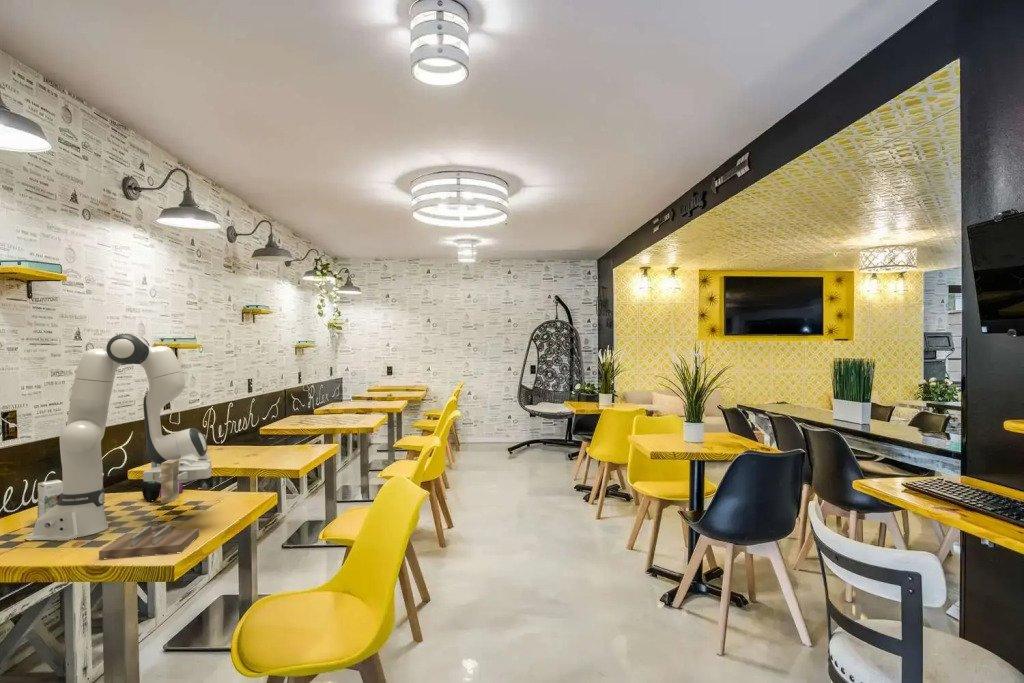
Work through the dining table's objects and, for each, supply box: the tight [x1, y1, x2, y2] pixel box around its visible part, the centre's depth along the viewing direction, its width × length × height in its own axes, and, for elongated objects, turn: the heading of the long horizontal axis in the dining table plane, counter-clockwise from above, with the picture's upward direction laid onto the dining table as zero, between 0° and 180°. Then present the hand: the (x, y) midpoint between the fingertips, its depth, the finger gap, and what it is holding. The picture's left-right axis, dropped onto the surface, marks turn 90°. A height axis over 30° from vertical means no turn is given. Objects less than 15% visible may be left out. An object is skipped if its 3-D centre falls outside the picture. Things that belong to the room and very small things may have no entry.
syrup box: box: [37, 479, 63, 519], centre depth 203 cm, size 6×6×14 cm
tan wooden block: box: [160, 459, 180, 504], centre depth 182 cm, size 3×6×13 cm, turn 12°
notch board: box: [98, 524, 200, 560], centre depth 172 cm, size 22×16×5 cm
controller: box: [140, 480, 161, 502], centre depth 227 cm, size 4×12×10 cm, turn 57°
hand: (169, 478), depth 181 cm, fingers closed on tan wooden block, 3 cm apart
